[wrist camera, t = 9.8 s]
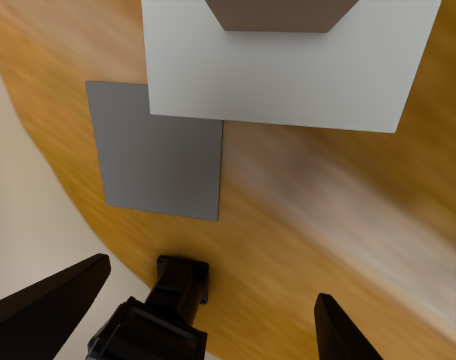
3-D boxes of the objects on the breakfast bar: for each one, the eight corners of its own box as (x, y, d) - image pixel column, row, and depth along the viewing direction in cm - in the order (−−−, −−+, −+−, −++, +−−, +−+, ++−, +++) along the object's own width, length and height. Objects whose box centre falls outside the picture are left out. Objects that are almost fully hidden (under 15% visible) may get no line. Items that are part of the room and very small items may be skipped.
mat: (217, 219, 23) (217, 221, 23) (109, 203, 25) (106, 205, 24) (224, 90, 18) (223, 90, 18) (88, 81, 20) (84, 80, 20)
